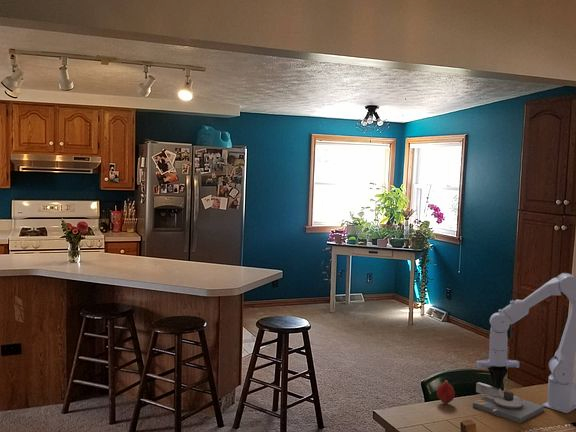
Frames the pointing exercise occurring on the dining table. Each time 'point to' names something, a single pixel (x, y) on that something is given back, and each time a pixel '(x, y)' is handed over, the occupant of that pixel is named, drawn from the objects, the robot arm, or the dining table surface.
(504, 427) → the dining table surface
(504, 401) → the dial
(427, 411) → the dining table surface
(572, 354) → the robot arm
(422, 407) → the dining table surface
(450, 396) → the onion
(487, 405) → the dial plate
